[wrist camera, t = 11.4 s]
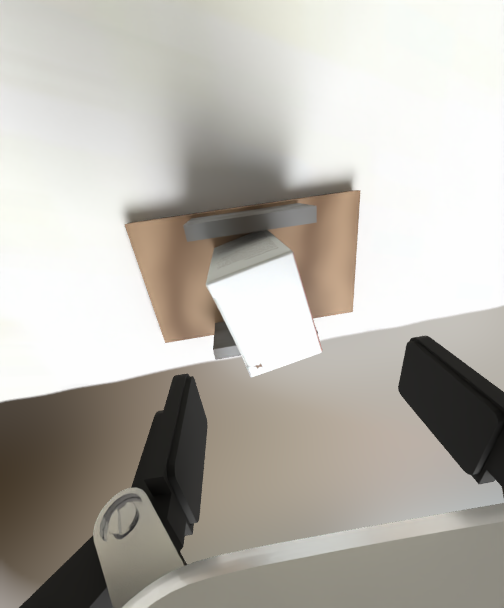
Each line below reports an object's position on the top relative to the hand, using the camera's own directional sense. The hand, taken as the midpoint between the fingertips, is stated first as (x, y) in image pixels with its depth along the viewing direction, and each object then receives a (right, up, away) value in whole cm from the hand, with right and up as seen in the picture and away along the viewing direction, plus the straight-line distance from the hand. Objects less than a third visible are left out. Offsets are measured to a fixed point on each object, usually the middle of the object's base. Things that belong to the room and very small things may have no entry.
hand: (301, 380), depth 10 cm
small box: (-2, +7, +15) cm, 16 cm away
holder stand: (-2, +7, +16) cm, 17 cm away
